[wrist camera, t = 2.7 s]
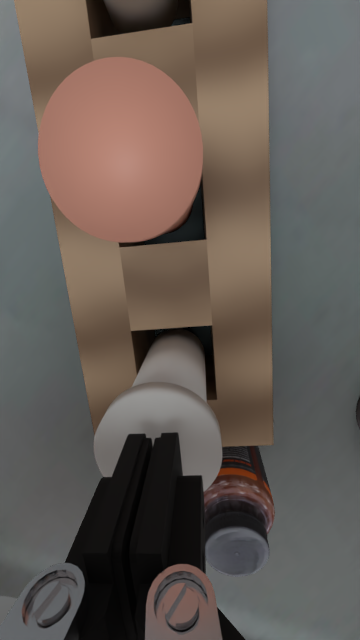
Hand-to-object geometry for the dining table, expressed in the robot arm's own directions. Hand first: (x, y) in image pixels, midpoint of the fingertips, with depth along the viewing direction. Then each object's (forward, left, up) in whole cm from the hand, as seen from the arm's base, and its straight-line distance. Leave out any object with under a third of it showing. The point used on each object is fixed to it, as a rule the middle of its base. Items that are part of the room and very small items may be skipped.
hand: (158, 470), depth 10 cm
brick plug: (+10, 0, -11) cm, 15 cm away
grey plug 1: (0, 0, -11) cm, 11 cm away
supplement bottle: (-11, -3, -17) cm, 21 cm away
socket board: (+10, 0, -17) cm, 20 cm away
